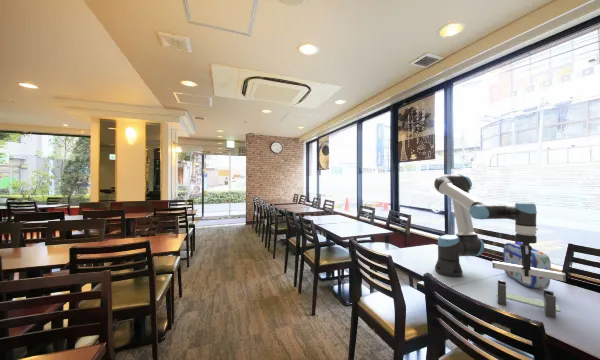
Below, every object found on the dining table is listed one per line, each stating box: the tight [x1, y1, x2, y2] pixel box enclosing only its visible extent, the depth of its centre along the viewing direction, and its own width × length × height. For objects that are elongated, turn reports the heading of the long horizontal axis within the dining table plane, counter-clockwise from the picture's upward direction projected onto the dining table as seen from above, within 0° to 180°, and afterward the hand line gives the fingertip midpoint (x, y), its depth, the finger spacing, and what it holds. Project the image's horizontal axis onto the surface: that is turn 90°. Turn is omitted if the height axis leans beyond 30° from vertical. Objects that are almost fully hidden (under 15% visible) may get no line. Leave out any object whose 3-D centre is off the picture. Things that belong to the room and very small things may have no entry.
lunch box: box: [502, 241, 552, 290], centre depth 137 cm, size 28×10×22 cm, turn 168°
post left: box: [497, 279, 507, 307], centre depth 114 cm, size 3×6×10 cm, turn 139°
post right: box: [543, 289, 557, 320], centre depth 103 cm, size 3×6×10 cm, turn 139°
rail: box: [492, 260, 567, 282], centre depth 115 cm, size 26×3×3 cm, turn 49°
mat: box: [496, 289, 561, 312], centre depth 115 cm, size 22×7×1 cm, turn 49°
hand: (526, 281), depth 115 cm, fingers closed on rail, 3 cm apart
